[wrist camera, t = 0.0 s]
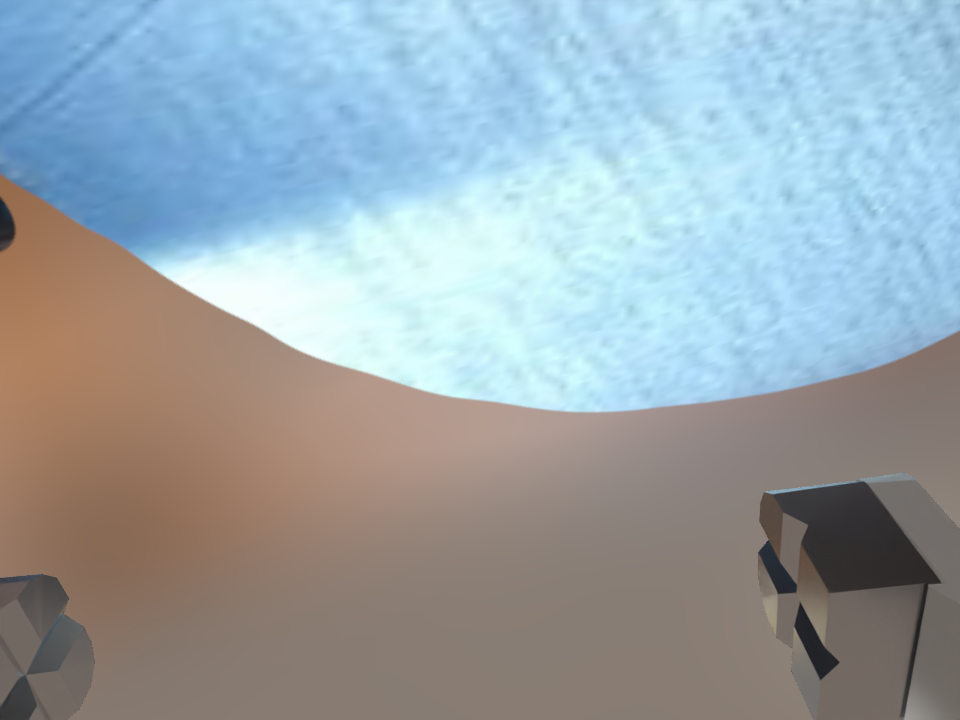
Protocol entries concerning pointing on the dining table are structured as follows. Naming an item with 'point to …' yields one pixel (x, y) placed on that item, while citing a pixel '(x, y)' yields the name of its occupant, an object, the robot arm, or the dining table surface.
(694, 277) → the dining table surface
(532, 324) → the dining table surface
